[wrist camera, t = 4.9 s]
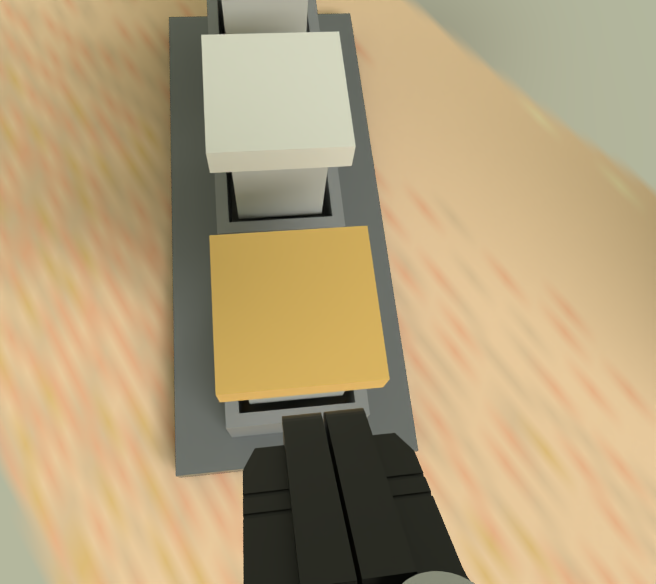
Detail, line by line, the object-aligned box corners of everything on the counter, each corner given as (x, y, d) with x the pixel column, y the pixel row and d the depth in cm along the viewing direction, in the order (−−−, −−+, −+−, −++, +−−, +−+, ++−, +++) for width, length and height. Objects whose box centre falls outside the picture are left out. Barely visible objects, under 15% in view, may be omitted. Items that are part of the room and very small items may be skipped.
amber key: (226, 300, 24) (209, 235, 18) (347, 291, 24) (367, 225, 18) (232, 424, 22) (215, 395, 16) (362, 411, 22) (389, 379, 17)
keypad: (172, 34, 33) (158, -28, 29) (347, 30, 34) (356, -30, 30) (180, 477, 24) (162, 471, 21) (412, 452, 25) (434, 443, 22)
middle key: (218, 135, 26) (201, 34, 21) (326, 131, 27) (338, 31, 21) (222, 234, 25) (205, 153, 19) (339, 227, 25) (355, 146, 20)
